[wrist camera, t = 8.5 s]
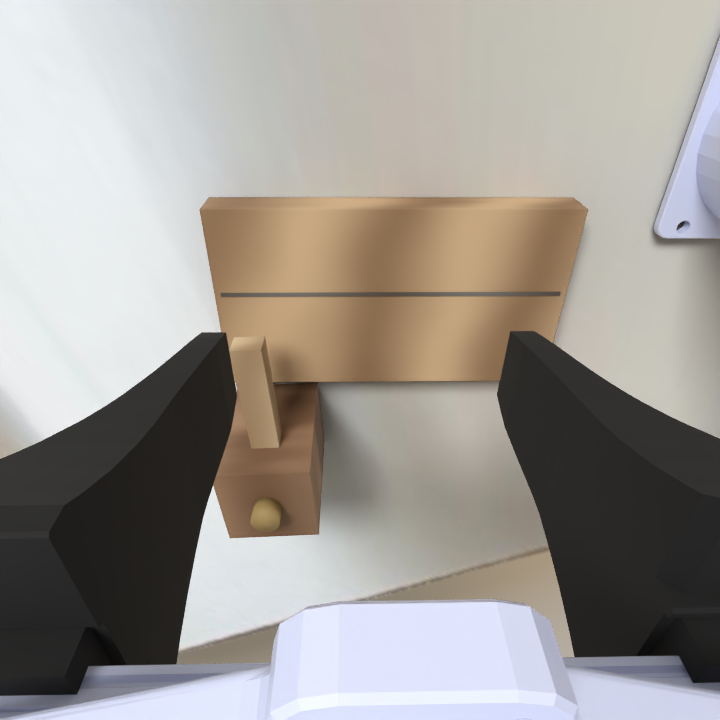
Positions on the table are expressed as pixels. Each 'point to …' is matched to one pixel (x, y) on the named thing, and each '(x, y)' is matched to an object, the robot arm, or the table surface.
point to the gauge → (270, 451)
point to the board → (389, 281)
